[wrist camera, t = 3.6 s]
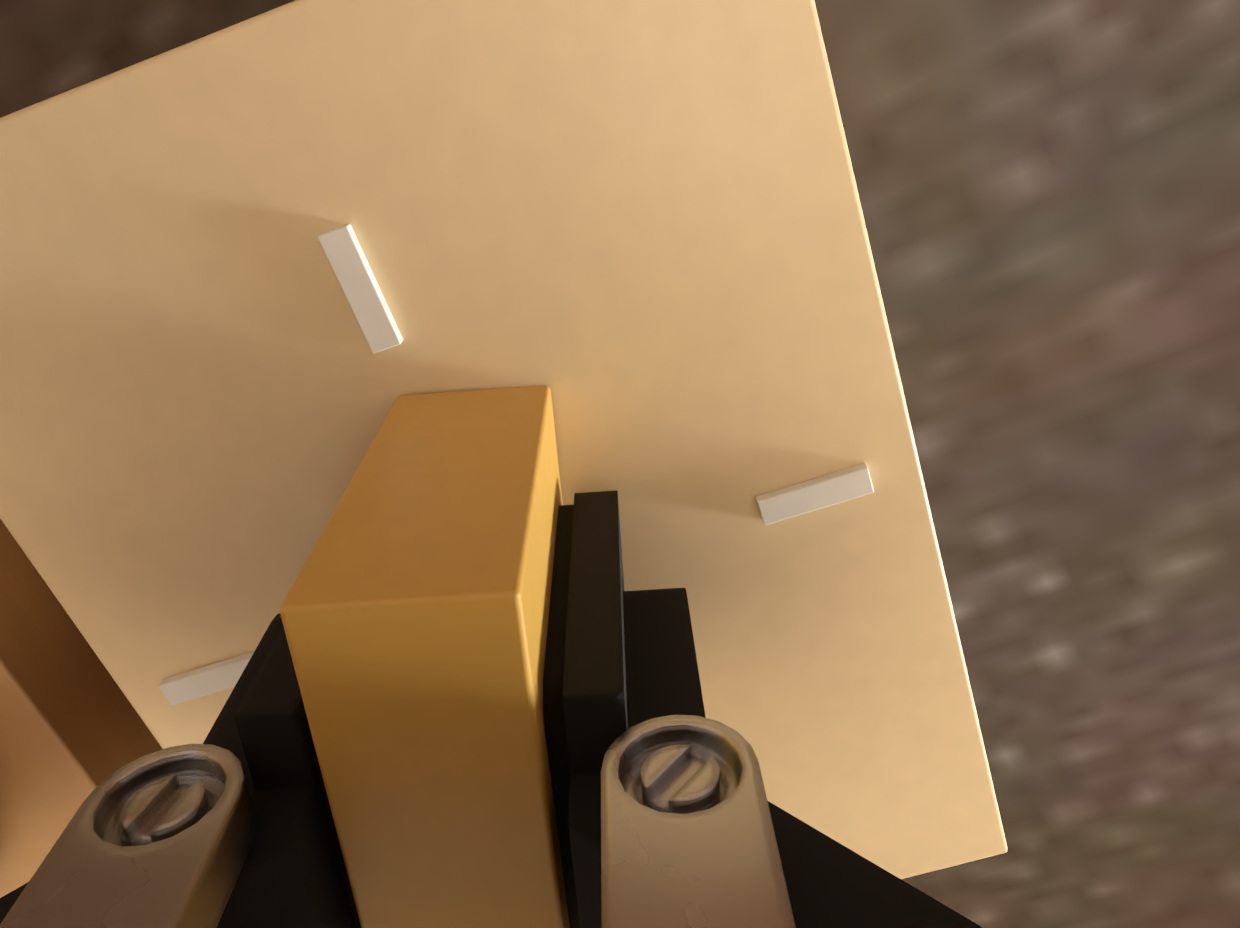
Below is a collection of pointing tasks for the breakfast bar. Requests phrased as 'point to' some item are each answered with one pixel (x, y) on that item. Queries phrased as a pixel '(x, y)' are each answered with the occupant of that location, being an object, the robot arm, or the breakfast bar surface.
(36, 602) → the wooden button base
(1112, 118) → the breakfast bar surface
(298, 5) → the dial plate
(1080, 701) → the breakfast bar surface
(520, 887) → the red-tipped yellow block
